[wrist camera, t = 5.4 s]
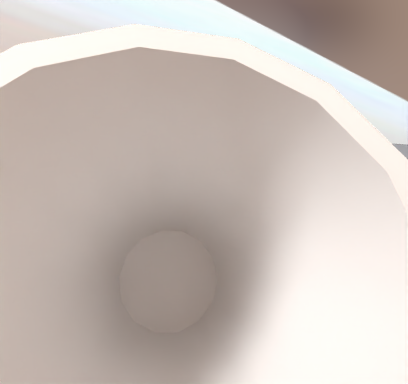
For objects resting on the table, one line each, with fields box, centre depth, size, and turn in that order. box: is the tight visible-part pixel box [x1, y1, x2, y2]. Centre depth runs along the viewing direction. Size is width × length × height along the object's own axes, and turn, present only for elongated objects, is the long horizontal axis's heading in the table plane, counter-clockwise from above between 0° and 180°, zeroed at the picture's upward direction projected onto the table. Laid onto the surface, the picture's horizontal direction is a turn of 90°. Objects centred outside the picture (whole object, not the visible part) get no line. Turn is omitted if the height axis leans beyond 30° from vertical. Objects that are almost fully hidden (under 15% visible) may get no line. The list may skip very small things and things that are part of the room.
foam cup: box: [0, 24, 408, 384], centre depth 9 cm, size 10×9×13 cm
